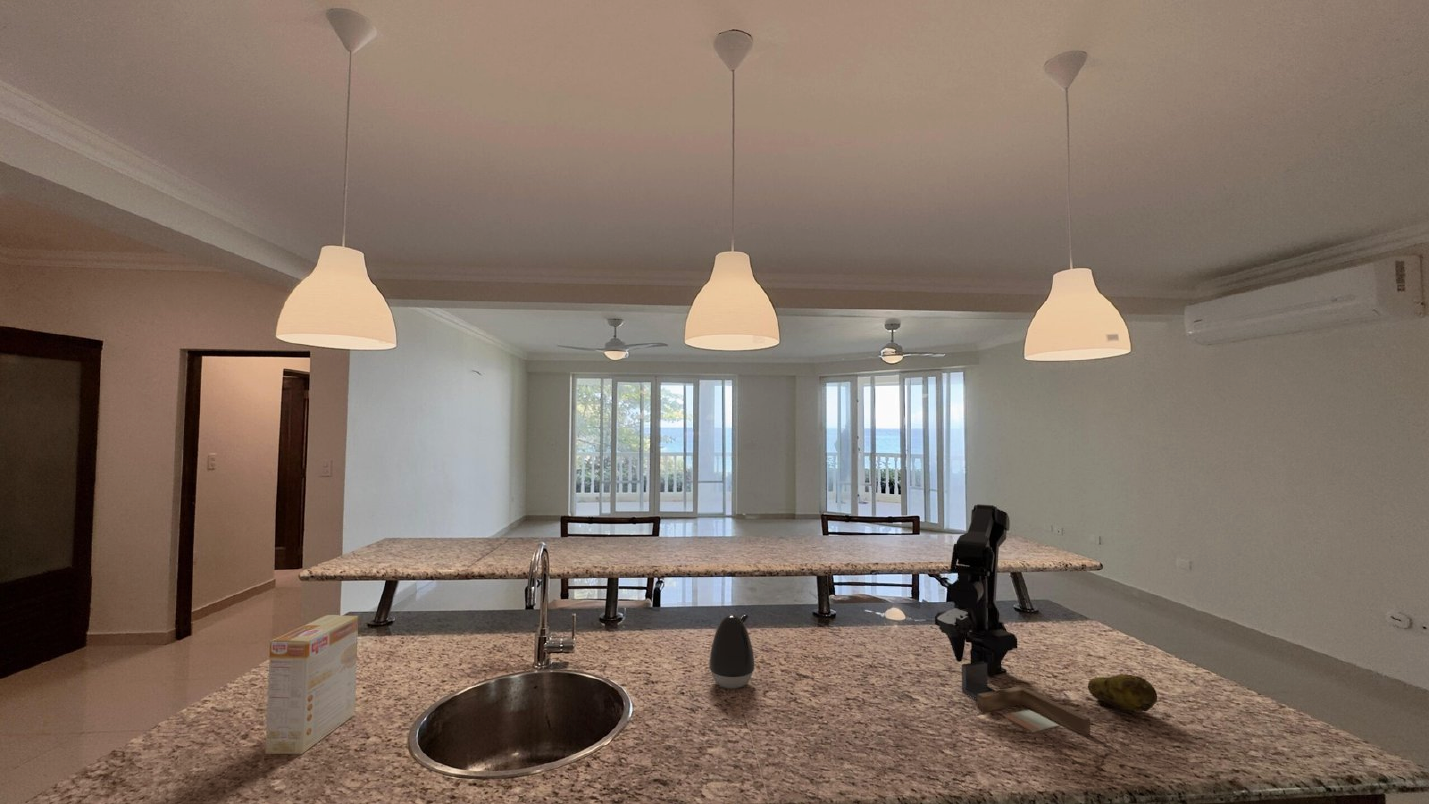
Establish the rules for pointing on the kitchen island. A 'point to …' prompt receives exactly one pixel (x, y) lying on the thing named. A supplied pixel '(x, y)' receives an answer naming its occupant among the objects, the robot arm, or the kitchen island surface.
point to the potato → (1124, 692)
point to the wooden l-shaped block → (1034, 707)
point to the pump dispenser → (732, 653)
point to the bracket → (975, 679)
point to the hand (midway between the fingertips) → (974, 669)
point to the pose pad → (1030, 720)
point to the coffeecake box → (311, 683)
